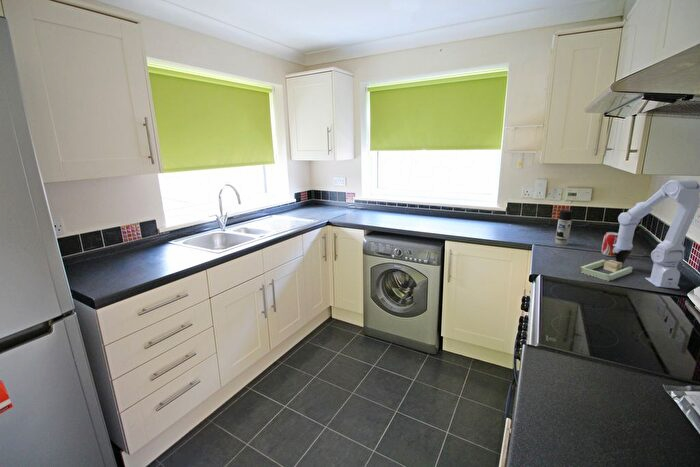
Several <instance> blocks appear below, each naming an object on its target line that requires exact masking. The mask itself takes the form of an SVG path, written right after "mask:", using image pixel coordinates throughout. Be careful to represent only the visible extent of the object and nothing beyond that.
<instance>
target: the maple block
mask: <svg viewBox="0 0 700 467" xmlns="http://www.w3.org/2000/svg"><path fill="white" fill-rule="evenodd" d="M622 267H623V265H622V263H621V262H617V261H616V260H613V259H609V260H606V261H605V263H604V266H603V270H605V271H609V272H611V273H613V272H616V271H619V270H622Z"/></svg>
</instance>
